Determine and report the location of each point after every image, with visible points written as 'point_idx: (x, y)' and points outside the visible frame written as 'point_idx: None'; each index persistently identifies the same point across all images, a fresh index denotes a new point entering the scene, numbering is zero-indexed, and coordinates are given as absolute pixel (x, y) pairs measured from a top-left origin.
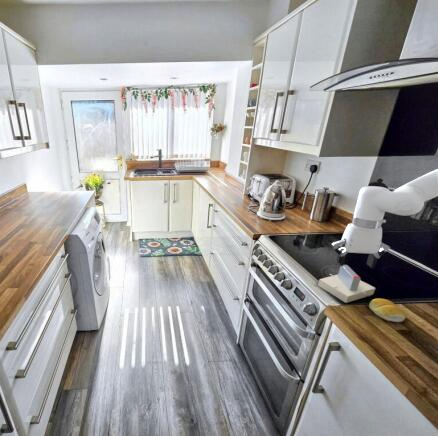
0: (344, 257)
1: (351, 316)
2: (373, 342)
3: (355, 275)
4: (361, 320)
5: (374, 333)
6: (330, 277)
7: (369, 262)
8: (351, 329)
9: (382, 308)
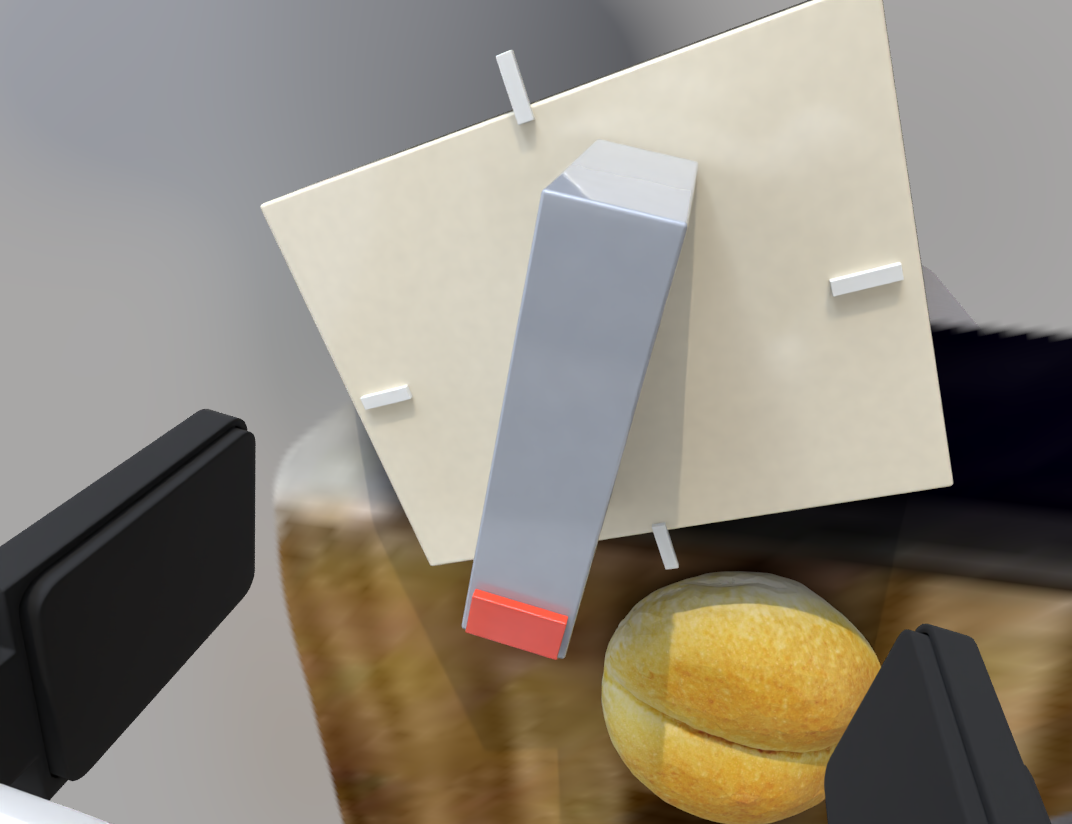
0: (54, 787)
1: (397, 642)
2: (389, 814)
3: (544, 583)
4: (447, 685)
5: (450, 777)
6: (455, 164)
7: (881, 777)
8: (318, 726)
9: (636, 754)
